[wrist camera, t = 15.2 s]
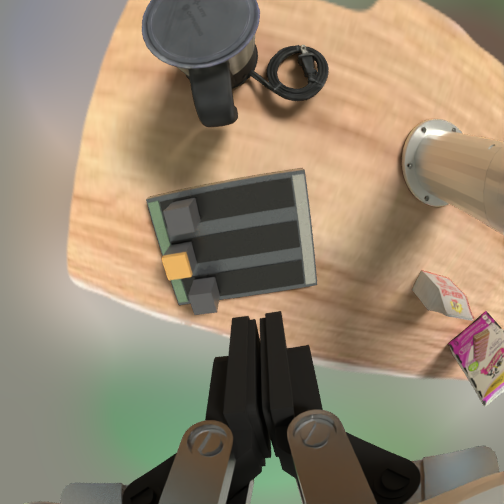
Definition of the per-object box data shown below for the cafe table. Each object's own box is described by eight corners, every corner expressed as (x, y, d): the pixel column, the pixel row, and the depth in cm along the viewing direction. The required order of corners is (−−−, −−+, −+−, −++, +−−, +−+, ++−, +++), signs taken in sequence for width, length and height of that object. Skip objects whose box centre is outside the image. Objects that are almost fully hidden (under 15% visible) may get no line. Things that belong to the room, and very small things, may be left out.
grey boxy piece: (439, 296, 44) (467, 330, 35) (411, 289, 43) (440, 326, 34) (448, 278, 42) (479, 310, 33) (421, 270, 42) (452, 304, 33)
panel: (302, 167, 36) (304, 169, 34) (315, 279, 42) (317, 285, 41) (149, 196, 37) (145, 199, 36) (181, 299, 44) (178, 305, 42)
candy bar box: (485, 309, 46) (528, 358, 31) (489, 321, 47) (528, 370, 32) (446, 343, 49) (482, 400, 34) (451, 354, 50) (484, 408, 35)
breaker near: (195, 197, 35) (188, 206, 32) (200, 220, 37) (194, 231, 33) (172, 202, 36) (163, 211, 32) (178, 224, 37) (169, 236, 33)
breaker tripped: (191, 241, 38) (184, 254, 34) (196, 262, 39) (191, 277, 35) (169, 245, 38) (161, 258, 34) (175, 265, 39) (168, 280, 36)
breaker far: (214, 276, 40) (211, 292, 36) (219, 295, 41) (216, 312, 37) (193, 279, 40) (188, 295, 36) (199, 298, 41) (194, 315, 38)
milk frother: (170, 44, 29) (124, 6, 16) (285, -3, 26) (302, -62, 13) (218, 138, 34) (196, 146, 21) (335, 89, 32) (384, 72, 18)
